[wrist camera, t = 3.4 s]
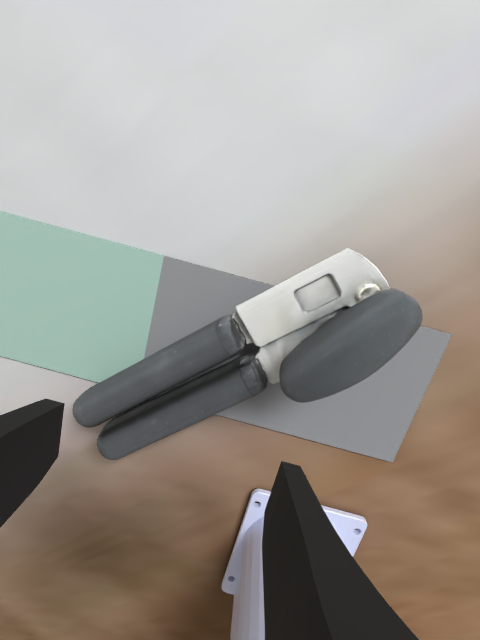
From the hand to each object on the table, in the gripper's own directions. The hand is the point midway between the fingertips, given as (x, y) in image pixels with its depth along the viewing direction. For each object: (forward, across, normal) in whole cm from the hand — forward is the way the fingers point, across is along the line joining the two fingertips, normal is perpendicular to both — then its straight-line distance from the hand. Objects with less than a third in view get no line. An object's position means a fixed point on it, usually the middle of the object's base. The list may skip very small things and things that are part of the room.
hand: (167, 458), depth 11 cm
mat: (+10, +7, 0) cm, 12 cm away
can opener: (+10, -1, 0) cm, 11 cm away
